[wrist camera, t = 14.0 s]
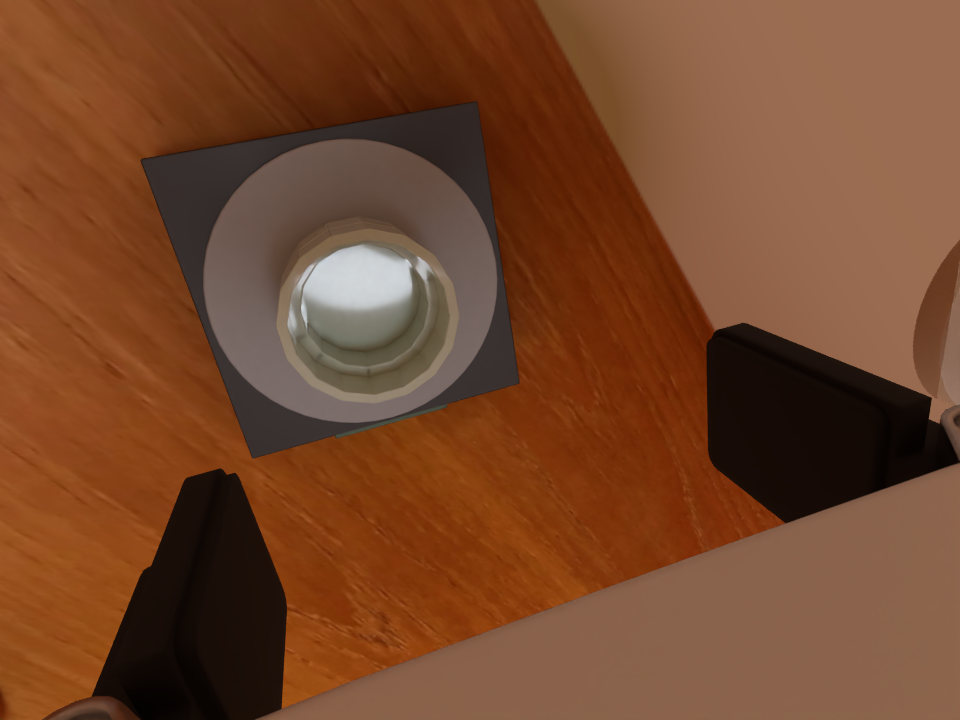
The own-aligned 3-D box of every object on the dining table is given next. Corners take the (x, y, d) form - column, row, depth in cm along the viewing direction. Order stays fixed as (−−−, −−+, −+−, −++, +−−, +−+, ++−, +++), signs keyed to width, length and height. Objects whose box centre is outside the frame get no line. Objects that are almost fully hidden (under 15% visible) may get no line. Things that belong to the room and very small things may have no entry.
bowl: (418, 202, 25) (440, 213, 21) (446, 344, 28) (471, 377, 24) (260, 234, 24) (252, 253, 20) (305, 380, 26) (306, 422, 22)
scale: (460, 105, 28) (482, 99, 25) (503, 372, 34) (526, 397, 30) (156, 158, 25) (134, 159, 22) (259, 439, 31) (254, 476, 27)
